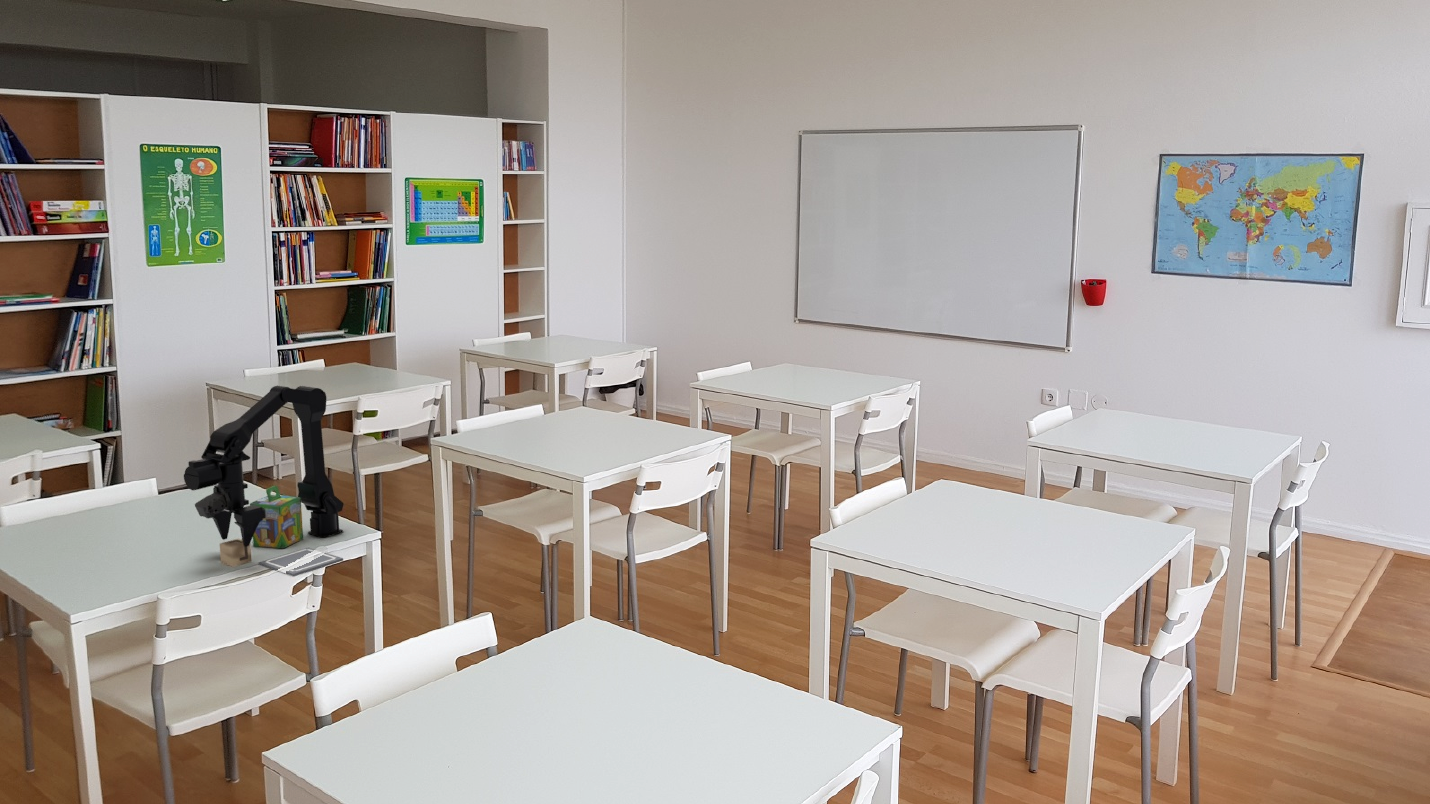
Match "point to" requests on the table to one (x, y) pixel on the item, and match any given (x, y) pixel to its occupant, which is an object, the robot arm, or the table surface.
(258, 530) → the chalk box
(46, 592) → the table surface
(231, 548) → the letter cube
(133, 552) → the table surface
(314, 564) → the slate pad
